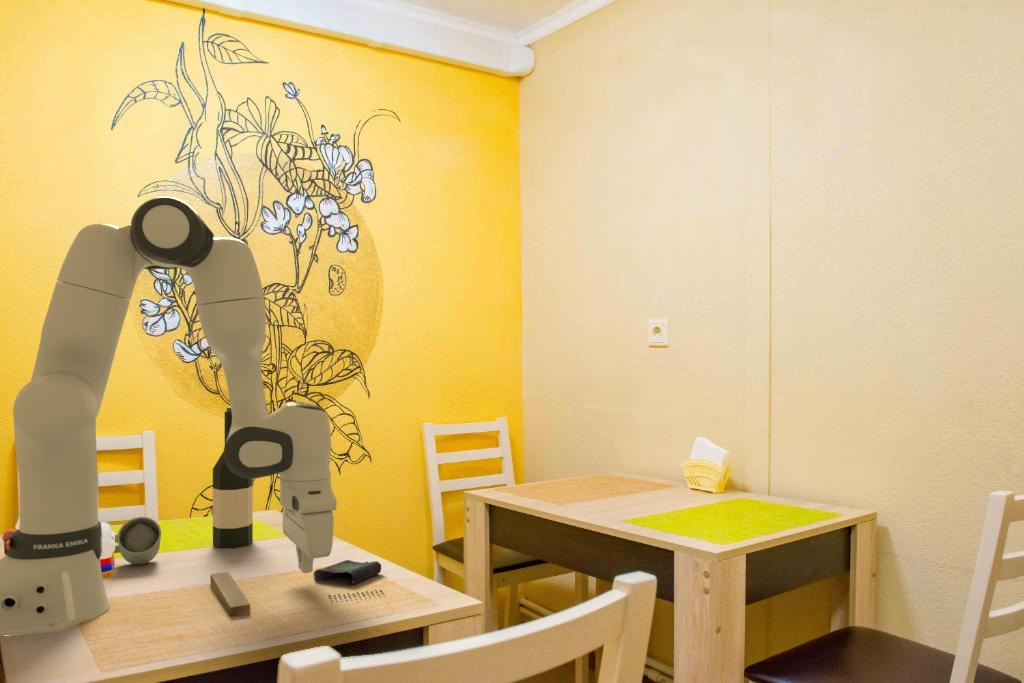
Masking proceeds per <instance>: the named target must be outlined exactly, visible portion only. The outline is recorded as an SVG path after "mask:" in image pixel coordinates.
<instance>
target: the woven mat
mask: <svg viewBox="0 0 1024 683" xmlns="http://www.w3.org/2000/svg"><path fill="white" fill-rule="evenodd" d="M375 591H376V592H375ZM374 592H375V593H376V595H377V597H379V599H382V597H384V598H386V595H385V593H384V592H383V590H381V589H380V590H379V592H381V594H379V592H378V590H377V589H374ZM374 592H373V590H372V591H370V593H371V594H370V593H369V591H368V590H366V591H365V593H364V592H363V591H361V595H362V596H363V597H364V599H365V600H366V601H368V599H367V597H366V595H367V596H368V598H369V600H372V599H373V598H375V597H376V596H375V593H374ZM355 593H356V594H357V597H358V598H359V599H360V601H363V599H362V597H361V595H360V593H359V591H357V592H354V593H351V594H350V592H347V594H342V596H341V593H338V594H337V596H338V598H337V596H336V594H335V595H333V597H334V600H335V602H336V604H339V603H338V602H339V601H343V598H344V599H345V602H347V603H349V602H348V599H347V598H349V599H350V600H352V599H353V598H354V600H356V602H358V601H357V598H356V595H355ZM373 593H374V594H373ZM377 593H378V594H377ZM351 595H352V596H353V598H352V596H351ZM371 595H372V596H373V598H371ZM381 595H383V596H382V597H381ZM347 596H348V597H347ZM342 597H343V598H342ZM328 598H329V600H330V602H332V604H334V603H335V602H334V600H333V598H332V597H331V595H330V594H328ZM338 599H340V600H338ZM375 600H377V598H375Z"/></svg>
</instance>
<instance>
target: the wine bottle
mask: <svg viewBox="0 0 1024 683" xmlns="http://www.w3.org/2000/svg"><path fill="white" fill-rule="evenodd" d="M231 421H232V411H231V406H230V407H229V406H228V407H226V411H225V410H224V445H225V444H226V440H227V435H228V432H229V429H230V426H231ZM253 480H254V479H246V478H242V477H239V476H237V475H235V474H234V473H233V472H232V471H230V469H229V468H228V467H227V465H226V463H225V460H224V450H223V451H222V453H221V454H220V457H219V458H218V459H217V461H216V463H215V465H214V466H213V468H212V545H213V546H214V547H217V548H220V549H224V548H225V549H228V548H229V549H231V548H233V549H234V548H235V549H236V548H240V547H244V546H248V545H251V543H253V540H254V539H253V538H254V537H253V534H254V532H253V531H254V529H253V528H254V526H253V524H254V523H253V521H254V520H253V519H254V517H253V514H254V513H253V510H254V508H253V507H254V506H253V498H254V497H253V495H254V494H253V491H254V490H253V488H254V487H253V486H254V484H253V482H254V481H253Z"/></svg>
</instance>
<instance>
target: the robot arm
mask: <svg viewBox="0 0 1024 683" xmlns="http://www.w3.org/2000/svg"><path fill="white" fill-rule="evenodd" d="M175 269H182V270H184V271H185V272H186V273H187V274H188V276H189V277H190V279H191V282H192V283H193V284H192V285H193V288H194V293H195V294H194V295H195V300H196V306H197V313H198V317H199V318H198V319H199V322H200V325H201V329H202V332H203V334H204V339H205V340H206V343H207V345H208V347H209V349H211V351H212V353H214V355H215V356H216V358H217V359H218V360H219V363H220V365H221V367H222V370H223V372H224V377H225V380H226V386H227V394H228V398H229V404H230V405H229V406H230V407H231V411H232V421H231V426H230V429H229V432H228V435H227V440H226V444H225V443H224V448H223V451H224V460H225V463H226V465H227V467H228V468H229V469H230V471H232V472H233V473H234V474H235V475H237V476H239V477H242V478H246V479H253V480H255V479H261V478H265V477H270V476H273V475H274V476H275V475H277V474H279V505H280V506H282V525H281V526H282V533H283V535H284V536H286V537H287V538H288V539H289V540H290V542H291V543H292V544H294V545H295V551H296V555H297V565H298V566H297V567H298V570H300V571H301V573H303V574H309V573H312V572H313V570H314V568H313V567H314V564H313V563H314V560H315V559H320V558H326V557H327V558H328V557H329V556H331V553H332V550H333V541H334V527H335V526H334V525H335V524H334V523H335V521H334V519H335V518H334V513H333V511H336V510H337V507H338V506H337V505H338V504H337V503H338V502H337V498H336V496H335V494H334V491H333V486H332V474H331V473H332V472H331V469H330V456H331V452H332V435H331V425H330V418H329V415H328V413H327V412H326V411H325V409H323V408H322V407H321V406H319V405H317V404H313V403H307V402H302V401H287V402H285V403H284V404H283V405H282V406H281V407H279V408H278V409H276V410H274V411H272V412H271V413H269V408H268V405H267V400H266V394H265V387H264V380H263V374H262V357H263V356H262V355H263V350H264V347H265V346H264V345H265V340H266V333H267V332H266V330H267V329H266V328H267V327H266V326H267V313H266V302H265V294H264V290H263V285H262V280H261V276H260V273H259V268H258V266H257V263H256V260H255V257H254V255H253V251H252V250H251V248H250V246H249V245H248V244H247V243H245V242H244V241H242V240H240V239H238V238H234V237H226V236H225V237H223V236H222V237H215V235H214V232H213V231H212V230H211V229H210V228H209V226H208V225H207V224H206V223H205V221H204V219H203V218H202V217H201V216H200V214H198V212H197V211H196V210H195V209H194V208H193V207H192V206H191V205H189V204H188V203H187V202H185V201H183V200H181V199H179V198H176V197H173V196H171V197H170V196H158V197H153V198H151V199H148V200H147V201H144V202H143V203H142V204H141V205H139V207H137V209H136V210H135V211H134V213H133V214H132V217H131V221H130V223H129V224H128V225H125V226H116V225H112V224H108V223H107V224H106V223H93V224H89V225H86V226H84V227H83V228H81V229H80V230H79V232H78V233H77V235H76V237H75V238H74V239H73V241H72V243H71V245H70V247H69V249H68V250H67V253H66V255H65V258H64V260H63V262H62V265H61V268H60V269H59V273H58V277H57V279H56V280H57V281H56V282H55V285H54V289H53V292H52V295H51V298H50V301H49V305H48V308H47V311H46V315H45V317H44V321H43V325H42V327H41V332H40V333H41V334H40V340H39V346H38V350H37V353H36V354H37V355H36V358H35V362H34V367H33V371H32V374H31V378H30V381H29V382H28V383H26V384H25V385H24V386H23V387H22V388H21V389H20V390H19V391H18V393H17V395H16V397H15V399H14V402H13V408H12V411H13V412H12V413H13V415H12V416H13V432H14V433H13V435H14V445H15V454H16V455H15V456H16V464H17V473H18V481H19V484H18V486H19V490H18V491H19V496H18V497H19V498H18V499H19V504H18V505H19V528H18V529H17V530H16V529H14V528H9V529H6V530H5V532H3V533H2V534H3V535H2V537H1V538H2V541H3V551H4V552H3V553H4V556H3V557H2V558H1V559H0V636H4V635H15V634H16V635H17V634H27V635H32V634H31V633H37V634H44V633H43V632H46V633H55V632H54V631H56V632H62V630H63V631H66V630H68V629H71V628H73V627H75V626H76V625H78V624H82V623H84V622H88V621H90V620H93V619H95V618H98V617H100V616H102V615H103V614H105V613H106V612H107V611H108V610H109V609H110V608H111V605H110V602H109V599H108V596H107V593H106V592H107V591H106V589H105V584H104V580H103V574H102V566H101V565H102V564H101V556H102V553H103V552H102V538H103V529H102V523H101V522H100V521H99V471H98V470H99V469H98V453H97V427H96V426H97V425H96V424H97V423H96V419H97V417H98V415H99V412H100V410H101V406H102V403H103V399H104V395H105V392H106V388H107V385H108V381H109V377H110V373H111V370H112V366H113V364H114V363H113V362H114V358H115V354H116V351H117V348H118V344H119V340H120V337H121V333H122V330H123V327H124V323H125V320H126V317H127V314H128V310H129V306H130V303H131V300H132V295H133V292H134V288H135V287H136V286H135V285H136V283H137V280H138V278H139V276H140V275H141V273H142V271H144V270H175ZM74 625H75V626H74ZM72 626H73V627H72ZM70 627H71V628H70ZM51 631H52V632H51ZM28 633H29V634H28ZM17 636H18V635H17Z"/></svg>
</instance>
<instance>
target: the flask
mask: <svg viewBox="0 0 1024 683" xmlns="http://www.w3.org/2000/svg"><path fill="white" fill-rule="evenodd" d="M381 571H382V565H381V563H380V562H379V561H377V560H376V561H374V560H373V561H370V562H368V561H365V562H359V561H353V560H349V559H345V560H343V561H340V562H337V563H335V564H331V565H327V566H325V567H322V568H319V569H316V570H315V571H314V572H313V579H314V581H315V582H318V581H321V580H323V579H325V578H328V577H330V576H334V575H335V574H342V573H349V574H351V576H352V582H351V583H348V584H347V585H346V587H349V586H351V585H354V584H357V583H358V582H360V581H363V580H365V579H368V578H371V577H373V576H376V575H378V574H380V573H381Z"/></svg>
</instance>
